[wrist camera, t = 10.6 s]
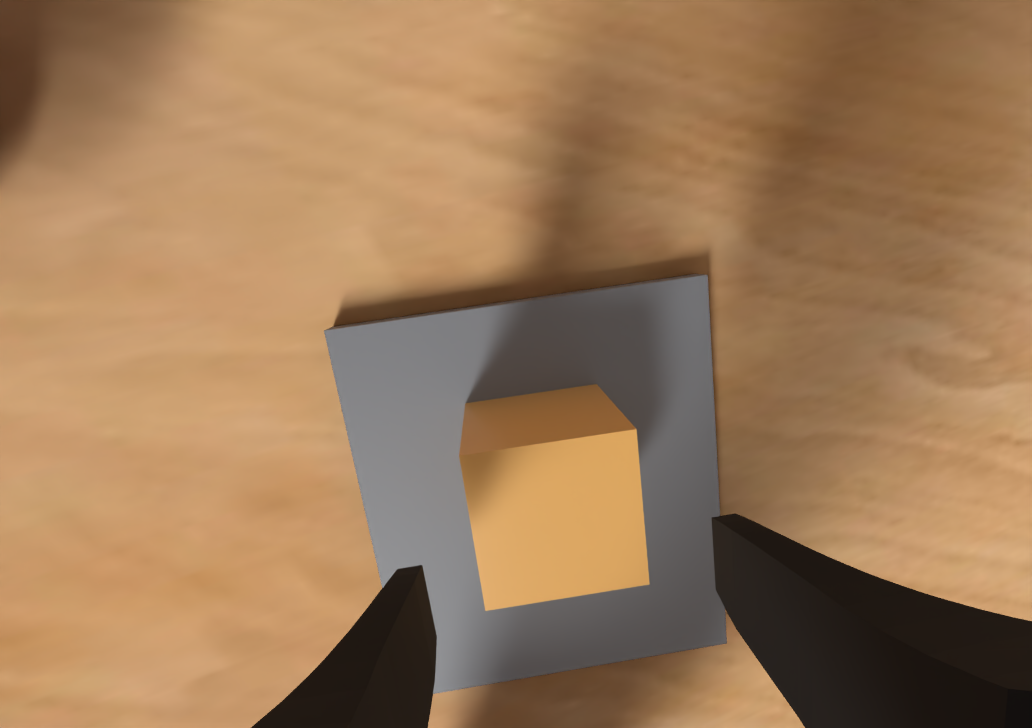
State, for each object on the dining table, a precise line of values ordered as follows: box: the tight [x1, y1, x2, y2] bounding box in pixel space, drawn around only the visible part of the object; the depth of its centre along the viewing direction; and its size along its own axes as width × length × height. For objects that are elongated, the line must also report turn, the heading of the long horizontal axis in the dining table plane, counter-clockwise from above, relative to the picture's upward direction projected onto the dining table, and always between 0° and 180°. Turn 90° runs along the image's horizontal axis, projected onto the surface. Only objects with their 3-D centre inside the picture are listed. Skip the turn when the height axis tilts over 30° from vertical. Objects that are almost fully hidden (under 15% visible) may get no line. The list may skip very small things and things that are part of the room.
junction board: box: [324, 274, 727, 694], centre depth 18 cm, size 16×14×4 cm
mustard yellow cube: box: [459, 384, 650, 611], centre depth 17 cm, size 5×5×5 cm
